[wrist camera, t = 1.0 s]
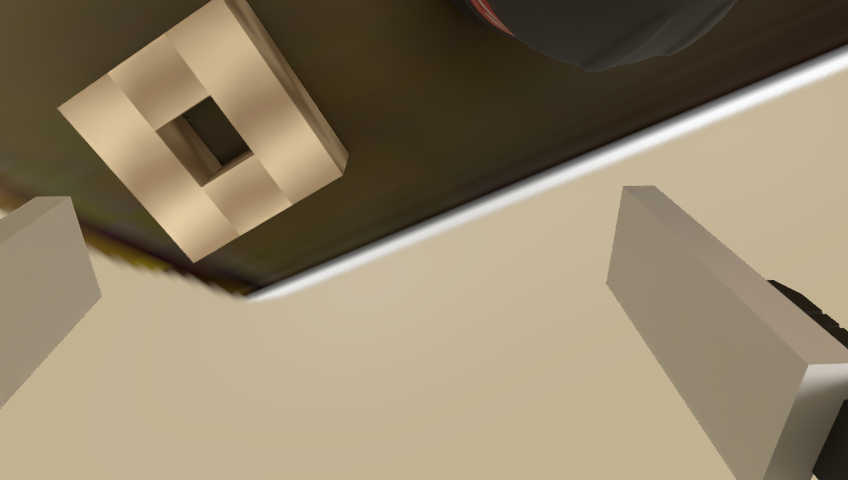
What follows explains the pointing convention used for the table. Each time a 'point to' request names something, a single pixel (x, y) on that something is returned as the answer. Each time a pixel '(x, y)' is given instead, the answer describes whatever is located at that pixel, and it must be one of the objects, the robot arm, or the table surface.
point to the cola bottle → (599, 26)
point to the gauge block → (182, 147)
